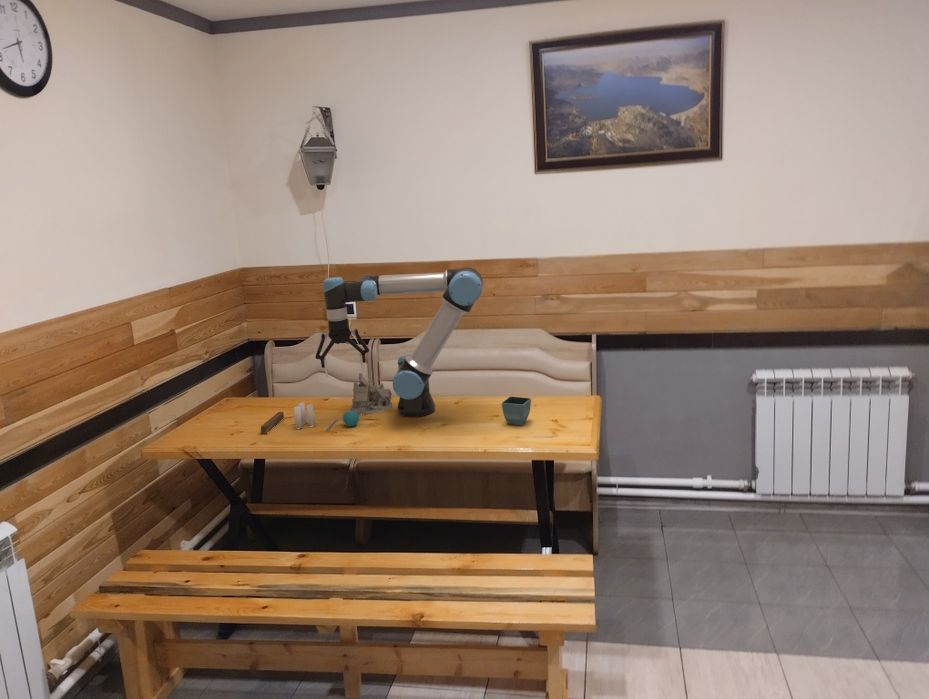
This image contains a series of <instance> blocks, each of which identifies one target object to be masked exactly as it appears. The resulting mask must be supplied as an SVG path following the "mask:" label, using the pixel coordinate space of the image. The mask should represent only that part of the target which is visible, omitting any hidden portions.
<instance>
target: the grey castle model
mask: <svg viewBox="0 0 929 699" xmlns="http://www.w3.org/2000/svg"><path fill="white" fill-rule="evenodd" d="M358 380H359V383H358V381H354V382H353V388H352V392H353V394H352V397H353V398H352V400H351V401H352V404H351V408H350V411H355V412H356V413H357V414H358V416H365V414H368V415H371V413H372V414H375V412H376V413H379V411H380V412H384V411H388V410H391V408H392V407H393V402H392V401H391V400H392V391H391V390H390V388H386V389H385V387H384V383H380V384H378V385H377V384H374V385H373V384H372V385H370V382H369V381H368V380H367V379H366V378H365V377H364V376H363V372H359V373H358ZM361 414H362V415H361ZM363 414H364V415H363Z"/></svg>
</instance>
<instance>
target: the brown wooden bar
mask: <svg viewBox="0 0 929 699" xmlns="http://www.w3.org/2000/svg"><path fill="white" fill-rule="evenodd" d="M283 418H284V419H285V414H284V411H278V412H277V413H275V414H274V415H273V416H271V417H270V418H269V419H268V420H267V421H266V422H264V424H262V425H261V426H260V431H261V435H267V434H268V433H267V432H269V431H270V430H271V429H272V428H273V427H274V426H275V427H276V425H277V424H278V423H279V422H280V421H281V420H282V419H283ZM284 419H283V420H284ZM283 420H282V421H283ZM282 421H281V422H282ZM281 422H280V423H281ZM280 423H279V424H280ZM279 424H278V425H279ZM278 425H277V426H278ZM275 427H274V428H275ZM274 428H273V429H274ZM273 429H272V430H273ZM272 430H271V431H272ZM271 431H270V432H271ZM270 432H269V433H270ZM266 433H267V434H266Z"/></svg>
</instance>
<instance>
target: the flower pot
mask: <svg viewBox="0 0 929 699" xmlns="http://www.w3.org/2000/svg"><path fill="white" fill-rule="evenodd" d="M531 405H532V397H522V396H513V395H512V396H509V397H507V398H506V399H505V400H503V401H502V402H501V408H502V414H503V417H504V419H505V421H506V423H508V425H512V424H516V425H515V426H523V424H524V423H526V422H527V420H528V418H529V415H530V412H531Z"/></svg>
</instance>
